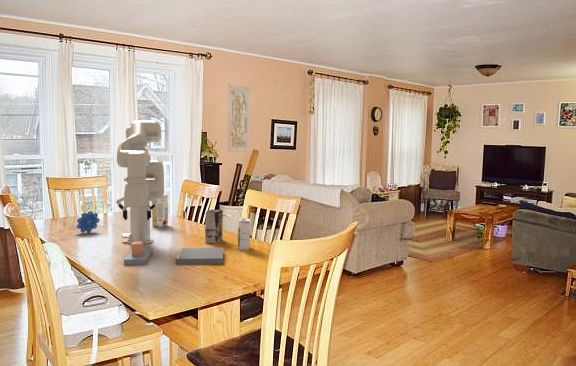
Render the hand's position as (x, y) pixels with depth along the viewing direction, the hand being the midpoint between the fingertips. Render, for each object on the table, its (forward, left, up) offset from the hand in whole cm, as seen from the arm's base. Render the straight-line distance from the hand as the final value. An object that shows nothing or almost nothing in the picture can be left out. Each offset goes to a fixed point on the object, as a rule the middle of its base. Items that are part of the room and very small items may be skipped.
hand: (137, 219), depth 203 cm
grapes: (-37, +55, -18) cm, 68 cm away
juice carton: (-1, +72, -18) cm, 74 cm away
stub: (+1, 0, -18) cm, 18 cm away
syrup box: (+47, +17, -18) cm, 53 cm away
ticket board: (+27, 0, -18) cm, 33 cm away
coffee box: (+32, +32, -18) cm, 49 cm away
